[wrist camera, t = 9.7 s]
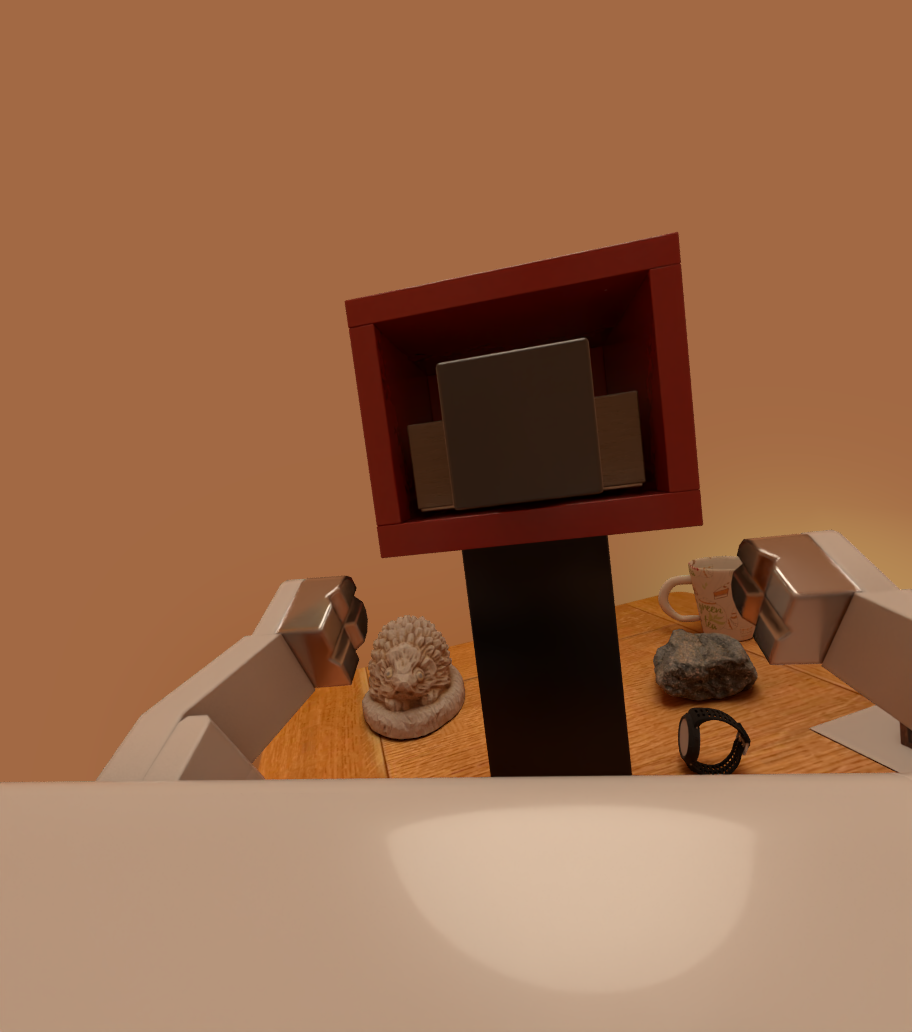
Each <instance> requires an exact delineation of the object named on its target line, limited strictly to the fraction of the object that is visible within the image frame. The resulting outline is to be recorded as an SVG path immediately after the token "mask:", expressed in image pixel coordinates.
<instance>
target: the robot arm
mask: <svg viewBox="0 0 912 1032" xmlns="http://www.w3.org/2000/svg"><path fill="white" fill-rule="evenodd" d="M737 556H738V557H739V559H740V560H741V562H742V563H743V564H741V565H740V566H739V567H738V568H737V569H736V570H735V571H734V572H733V575H732V581H731V590H732V598H733V601H734V603H735V606H736V609H737V610H738V612H739V614H740V615H741V617H742V618H743V619H745V620H746V621H748V622H749V623H751V624H753V625H754V626H755V630H754V633H753V637H754V639H755V641H756V642H757V644H758V646H759V647H760V649H761V651H762V652H763V654H764V655H765V657H766V659H767V660H768V662H769V664H770V665H787V664H822V667H824V668H825V669H827V670H828V671H829V672H831V673H832V674H834V675H835V676H836V677H838V678H839V679H841V680H842V681H843V682H845V683H846V684H848V685H849V686H850V687H852V688H853V689H855V690H856V691H857V692H859V693H860V694H862V695H863V696H864V697H866V698H867V699H869V700H870V701H871V702H873V703H874V704H876V705H877V706H878V707H880V708H881V709H883V710H884V711H885V712H887V713H888V714H890V715H891V716H892V717H894V718H895V719H897V720H898V721H899V722H901V723H902V724H904V725H905V726H906V727H908V728H909V729H911V730H912V589H905V590H900V589H899V588H898V587H897V586H896V585H895V584H894V583H893V582H892V581H890V580H889V579H888V578H887V577H886V576H885V575H884V574H883V573H882V572H881V571H880V570H879V569H877V567H875V566H874V565H873V564H872V563H871V562H870V561H869V560H868V559H867V558H866V557H865V556H864V555H863V554H862V553H861V552H860V551H859V550H858V549H856V548H855V547H854V546H853V545H852V544H851V543H850V542H849V541H848V540H847V539H846V538H845V537H844V536H843V535H842V534H840V533H839V532H836V531H834V530H825V531H816V532H807V533H801V534H792V535H781V536H771V537H761V538H751V539H744V540H743V541H742V542H741V544H740V545H739V549H738V553H737ZM355 591H356V586H355V584H354V582H353V580H352V578H351V577H348V576H336V577H321V578H307V579H298V580H287V581H285V582H283V583H282V584H281V585H280V587H279V589H278V591H277V592H276V594H275V596H274V598H273V599H272V601H271V603H270V604H269V606H268V608H267V610H266V611H265V613H264V615H263V617H262V619H261V620H260V622H259V624H258V625H257V627H256V629H255V631H254V633H253V634H252V636H245V637H244V638H243V639H241V640H240V641H238V642H237V643H236V644H235V645H233V646H232V647H230V648H229V649H228V650H226V651H225V652H224V653H223V654H221V655H220V656H219V657H217V658H216V659H215V660H213V661H212V662H211V663H209V664H208V665H207V666H206V667H204V668H203V669H201V670H200V671H199V672H198V673H196V674H195V675H194V676H192V677H191V678H190V679H188V680H187V681H186V682H184V683H183V684H182V685H180V686H179V687H178V688H177V689H175V690H174V691H173V692H172V693H170V694H169V695H167V696H166V697H165V698H163V699H162V700H161V701H160V702H158V703H157V704H155V705H154V706H153V707H152V708H150V709H149V710H148V711H146V712H145V713H144V714H142V715H141V716H140V718H139V719H138V721H137V722H136V723H135V725H134V726H133V728H132V729H131V731H130V732H129V733H128V735H127V736H126V738H125V739H124V741H123V742H122V743H121V745H120V746H119V748H118V749H117V751H116V752H115V754H114V755H113V756H112V758H111V759H110V761H109V762H108V764H107V765H106V766H105V768H104V769H103V771H102V772H101V774H100V775H99V777H98V778H97V780H96V781H88V782H87V781H82V782H81V781H80V782H0V1032H912V773H825V774H731V775H636V776H547V777H463V778H372V779H280V780H265V778H264V777H263V776H262V775H261V773H260V772H259V771H258V770H257V769H256V768H255V767H254V766H253V765H252V763H253V761H254V760H255V759H256V758H257V757H258V756H259V755H260V753H261V752H262V751H263V750H264V749H265V748H266V746H267V745H268V744H269V743H270V742H271V741H272V739H273V738H274V737H275V736H276V735H277V734H278V733H279V731H280V730H281V729H282V728H283V727H284V726H285V724H286V723H287V722H288V721H289V720H290V719H291V718H292V716H293V715H294V714H295V713H296V712H297V711H298V709H299V708H300V707H301V706H302V705H303V704H304V702H305V701H306V700H307V699H308V698H309V697H310V696H311V694H312V693H313V692H314V691H315V688H320V687H333V686H345V685H351V684H352V681H353V678H354V674H355V671H356V668H357V665H358V661H359V658H358V655H357V653H356V650H357V649H358V648H359V647H360V646H361V645H362V644H363V643H364V641H365V638H366V634H367V622H368V621H367V620H368V619H367V614H366V609H365V607H364V604H363V602H362V601H360V600H359V599H358V598H356V597H355V596H354V594H355Z"/></svg>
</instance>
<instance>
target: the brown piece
mask: <svg viewBox="0 0 912 1032" xmlns="http://www.w3.org/2000/svg"><path fill="white" fill-rule="evenodd" d="M436 373H437V381H438V389H439V396H440V404H441V412H442V420H440V421H434V422H427V423H421V424H414V425H408V426H407V432H408V439H409V446H410V454H411V461H412V469H413V476H414V483H415V491H416V498H417V506H418V509H421V511H422V512H430V511H439V510H447V509H456V510H464V509H473V508H481V507H490V506H498V505H507V504H516V503H524V502H533V501H541V500H550V499H558V498H567V497H575V496H584V495H592V494H600V493H601V492H603V491H608V490H617V489H625V488H633V487H641V486H643V483H644V482H646V475H645V464H644V453H643V443H642V432H641V421H640V411H639V400H638V391H630V392H624V393H617V394H611V395H604V396H597V397H594V389H593V379H592V369H591V360H590V350H589V341H588V340H587V338H579V339H573V340H568V341H562V342H556V343H551V344H545V345H539V346H533V347H528V348H522V349H516V350H511V351H505V352H499V353H493V354H488V355H482V356H476V357H471V358H465V359H459V360H454V361H448V362H442V363H439V364H437V366H436Z"/></svg>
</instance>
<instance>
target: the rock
mask: <svg viewBox="0 0 912 1032" xmlns="http://www.w3.org/2000/svg"><path fill="white" fill-rule="evenodd" d="M653 662H654V666H655V668H654V671H655V674H656V683H657V684H658V685H659V686H660V687H661V688H662V689H663V690H664V691H665V692H666V693H667V694H669V695H671V696H673V697H675V696H679V697H686V698H689V699H693V700H704V699H710V698H712V697H713V698H719V699H722V698H723V697H728V696H730V695H735V694H736V693H739V692H740V691H741V690H743V689H745V690H748V689H752V686H753V684H754V682H755V681H756V679H757V672H756V669H755V667H754V666H753V663H752V662H751V660H750V658H749V656H748V655H747V653H746V651H745V650H744V649H743V647H742V645H741V644H740V642H739V641H738V640H736V639H734V638H732V637H730V636H728V635H724V634H720V633H700V634H692V633H689V632H686V631H684V630H683V629H678V630H674V631H673V632H672V635H671V637H670V640H669V642H668V643H667V644H666V645H664V646H662V647H660V648H658V649H657V652H656V654H655V656H654V660H653Z"/></svg>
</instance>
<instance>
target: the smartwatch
mask: <svg viewBox="0 0 912 1032" xmlns="http://www.w3.org/2000/svg"><path fill="white" fill-rule="evenodd" d="M707 711H708V712H707ZM714 716H716V717H714ZM720 717H721V718H720ZM725 719H726V720H725ZM709 720H719V721H723V722H726V723H728V724H730V725H731V726H733V727H734V728H736V729H737V730H738V732H737V735H736V739H735V741H734V743H733V747H732V750H731V752H730V754H729V755H728V756H727V757H726V759H724V760H723V761H722V762H720V763H718V764H715V765H707V764H702V763H700V762H698V761H697V759H698V756H699V751H700V728H699V726H700V725H701V724H702V723H703V722H706V721H709ZM739 735H740V737H739ZM740 740H741V742H740ZM750 742H751V741H750V738H749V736H748V735H747V733H746V731H745V730H744V728H743V727H742V725H741V723H737V722H736V721H735V720H734V719H733V718H732V717H731V716H729V715H728V714H726V713H724V712H722V711H720V710H716V709H711V708H691V709H690V710H689V712H688V713H686V714H685V715H684V716H682V718H681V720H680V723H679V730H678V745H679V752H680V755H681V758H682V759H683V760H684V761H685V762H686V764H687V766H688V768H689V769H690V770H691V771H693V772H695V773H697V774H699V775H710V774H709V773H712V775H714V774H717V775H719V773H721V775H730V774H732V773H733V772H734V771H735V769H736V768H737V767H738V765H739V763H740V760H741V756H742V754H743V755H745V754H746V752H747V750H748V748H749V746H750ZM741 744H742V745H741ZM734 753H735V755H734ZM732 755H733V758H732ZM730 758H731V761H729V759H730ZM735 761H736V763H735ZM727 762H729V763H728V764H727ZM724 764H725V765H726V766H724ZM732 764H733V766H732ZM702 766H703V767H704V768H703V767H702ZM721 766H722V767H723V768H721ZM707 767H708V768H709V769H710V770H709V769H708V768H707ZM730 767H731V769H730ZM712 768H713V769H714V770H713V769H712ZM717 768H719V770H718V769H717ZM727 769H728V771H726V770H727ZM700 770H701V771H700ZM724 771H725V773H723V772H724ZM705 772H706V773H705Z"/></svg>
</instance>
